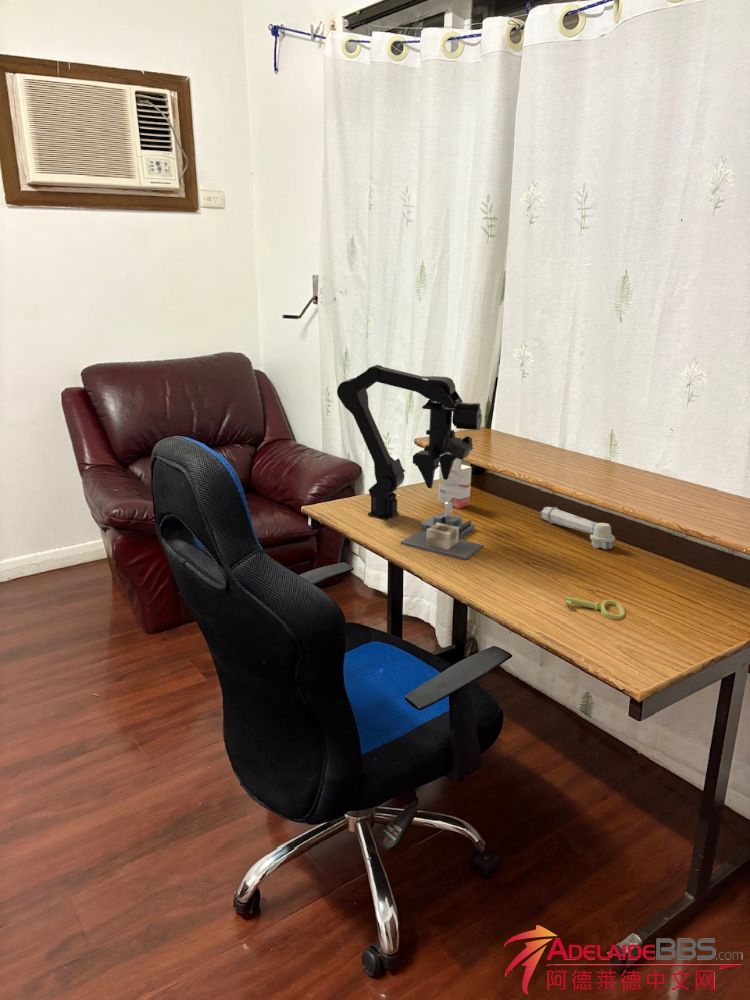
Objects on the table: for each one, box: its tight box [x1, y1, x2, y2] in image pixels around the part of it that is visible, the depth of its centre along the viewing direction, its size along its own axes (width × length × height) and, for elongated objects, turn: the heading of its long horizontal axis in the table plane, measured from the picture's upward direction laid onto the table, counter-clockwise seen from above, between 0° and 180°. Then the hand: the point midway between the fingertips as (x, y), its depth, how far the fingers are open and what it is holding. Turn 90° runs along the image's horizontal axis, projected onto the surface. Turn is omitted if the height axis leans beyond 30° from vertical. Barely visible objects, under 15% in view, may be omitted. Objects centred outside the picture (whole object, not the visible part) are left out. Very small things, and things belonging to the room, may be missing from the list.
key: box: [564, 596, 626, 620], centre depth 150 cm, size 7×12×2 cm, turn 92°
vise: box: [419, 501, 476, 540], centre depth 192 cm, size 12×8×8 cm, turn 58°
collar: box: [425, 523, 459, 550], centre depth 181 cm, size 6×6×4 cm
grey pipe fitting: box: [539, 506, 616, 550], centre depth 191 cm, size 5×7×25 cm
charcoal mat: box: [400, 529, 484, 561], centre depth 182 cm, size 18×10×1 cm, turn 58°
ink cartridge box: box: [437, 458, 473, 509], centre depth 211 cm, size 9×5×15 cm, turn 43°
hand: (437, 483), depth 194 cm, fingers open, 9 cm apart
